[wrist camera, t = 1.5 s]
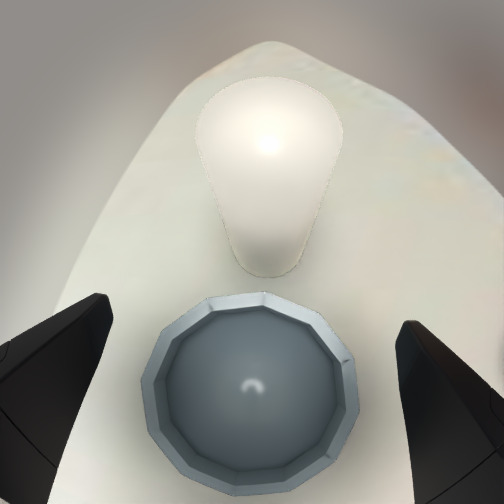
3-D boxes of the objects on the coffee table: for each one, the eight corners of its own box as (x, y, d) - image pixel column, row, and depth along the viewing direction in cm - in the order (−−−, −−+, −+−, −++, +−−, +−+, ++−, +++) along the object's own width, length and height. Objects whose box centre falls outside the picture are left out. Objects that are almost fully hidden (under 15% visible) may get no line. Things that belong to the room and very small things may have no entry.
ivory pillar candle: (288, 289, 22) (317, 213, 9) (221, 261, 22) (168, 160, 10) (313, 225, 23) (356, 101, 10) (249, 200, 24) (233, 65, 11)
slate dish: (297, 497, 17) (302, 517, 14) (135, 428, 19) (116, 439, 16) (371, 340, 20) (388, 339, 17) (203, 272, 22) (193, 261, 19)
